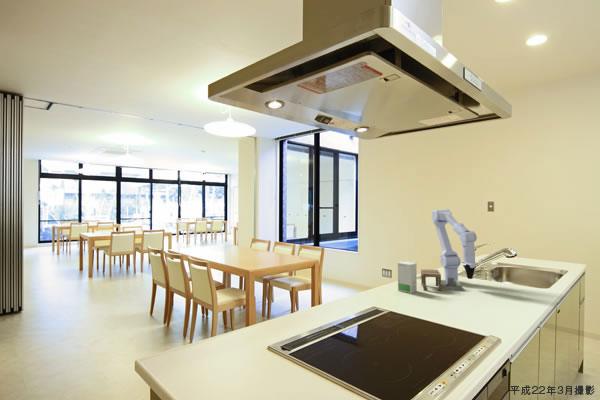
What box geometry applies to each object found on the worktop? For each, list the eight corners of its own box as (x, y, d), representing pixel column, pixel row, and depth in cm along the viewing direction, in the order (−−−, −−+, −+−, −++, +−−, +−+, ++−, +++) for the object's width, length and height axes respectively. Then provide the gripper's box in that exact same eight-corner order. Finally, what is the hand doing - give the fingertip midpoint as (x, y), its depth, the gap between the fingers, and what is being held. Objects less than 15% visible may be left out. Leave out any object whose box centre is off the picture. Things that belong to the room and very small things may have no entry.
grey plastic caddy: (439, 287, 180) (439, 276, 180) (460, 288, 177) (460, 276, 177) (440, 289, 175) (440, 278, 175) (462, 290, 172) (462, 278, 172)
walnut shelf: (421, 284, 186) (420, 269, 186) (438, 285, 183) (437, 269, 184) (423, 290, 174) (423, 274, 174) (441, 291, 172) (440, 274, 172)
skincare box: (397, 290, 175) (396, 262, 176) (403, 288, 180) (402, 260, 180) (411, 293, 169) (410, 264, 169) (417, 291, 174) (416, 262, 174)
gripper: (458, 251, 182) (459, 275, 181) (463, 255, 168) (465, 281, 168) (471, 251, 180) (472, 275, 180) (478, 255, 166) (479, 281, 166)
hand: (470, 278), depth 173 cm, fingers closed
